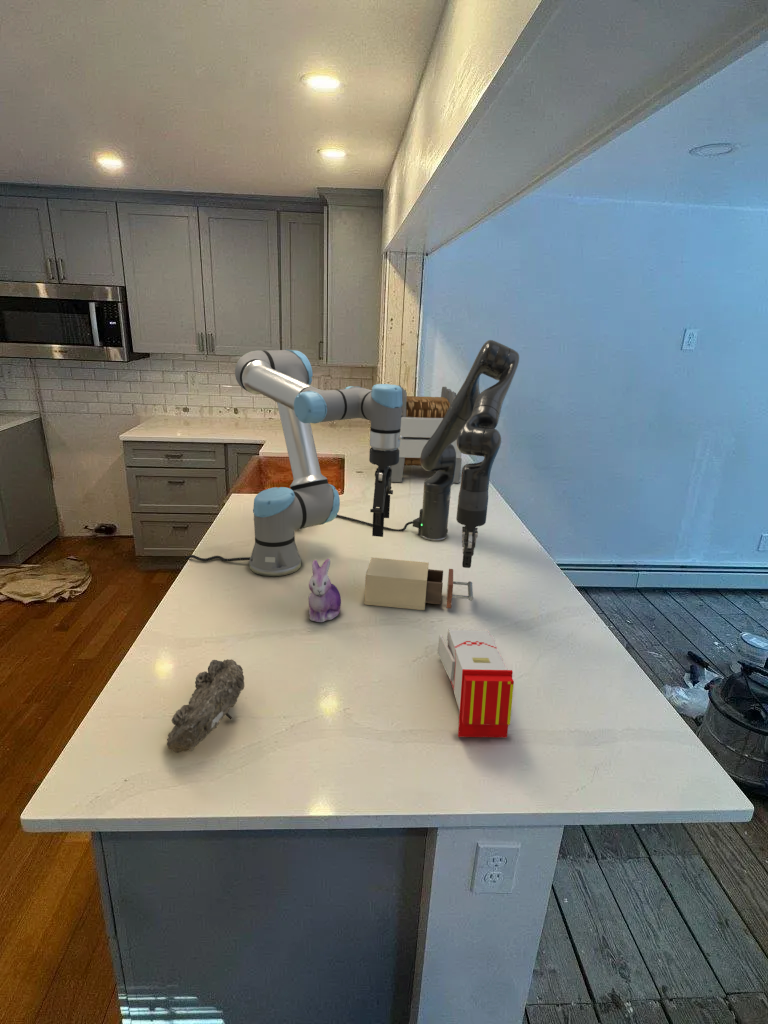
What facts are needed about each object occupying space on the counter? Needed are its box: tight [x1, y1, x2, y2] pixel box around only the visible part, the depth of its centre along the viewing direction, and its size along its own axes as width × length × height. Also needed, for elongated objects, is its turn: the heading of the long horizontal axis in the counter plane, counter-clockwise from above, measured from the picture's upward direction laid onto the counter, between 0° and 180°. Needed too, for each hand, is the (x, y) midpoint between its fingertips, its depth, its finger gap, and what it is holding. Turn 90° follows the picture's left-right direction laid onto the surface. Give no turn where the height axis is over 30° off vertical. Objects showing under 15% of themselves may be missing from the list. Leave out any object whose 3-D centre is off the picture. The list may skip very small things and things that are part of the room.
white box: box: [391, 384, 463, 484], centre depth 268 cm, size 34×33×41 cm
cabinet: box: [364, 557, 430, 611], centre depth 154 cm, size 16×11×9 cm
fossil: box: [166, 658, 245, 754], centre depth 106 cm, size 22×10×15 cm
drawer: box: [425, 568, 474, 609], centre depth 153 cm, size 20×10×7 cm, turn 83°
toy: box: [437, 628, 515, 738], centre depth 117 cm, size 12×13×30 cm
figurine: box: [308, 558, 342, 623], centre depth 143 cm, size 9×10×15 cm
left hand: (381, 526), depth 149 cm, fingers open, 13 cm apart
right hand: (466, 566), depth 150 cm, fingers closed
